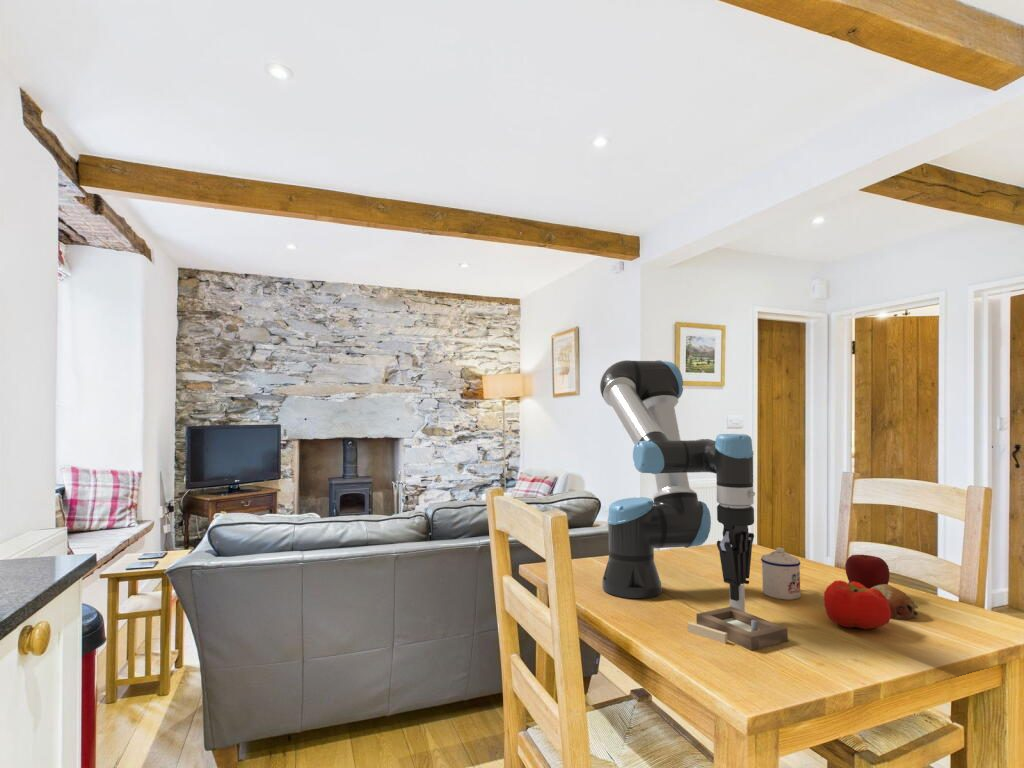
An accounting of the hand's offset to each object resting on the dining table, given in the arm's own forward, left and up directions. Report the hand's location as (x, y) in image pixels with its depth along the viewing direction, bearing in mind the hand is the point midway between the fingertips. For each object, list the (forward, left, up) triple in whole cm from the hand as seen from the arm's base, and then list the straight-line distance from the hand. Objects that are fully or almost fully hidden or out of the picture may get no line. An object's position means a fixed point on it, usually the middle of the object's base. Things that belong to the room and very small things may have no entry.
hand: (737, 613), depth 121 cm
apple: (+13, +45, -3) cm, 46 cm away
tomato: (+18, +19, -3) cm, 26 cm away
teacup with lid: (-2, +30, -3) cm, 30 cm away
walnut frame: (+4, -7, -1) cm, 9 cm away
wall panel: (+3, -8, -3) cm, 9 cm away
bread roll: (+20, +34, -3) cm, 39 cm away
